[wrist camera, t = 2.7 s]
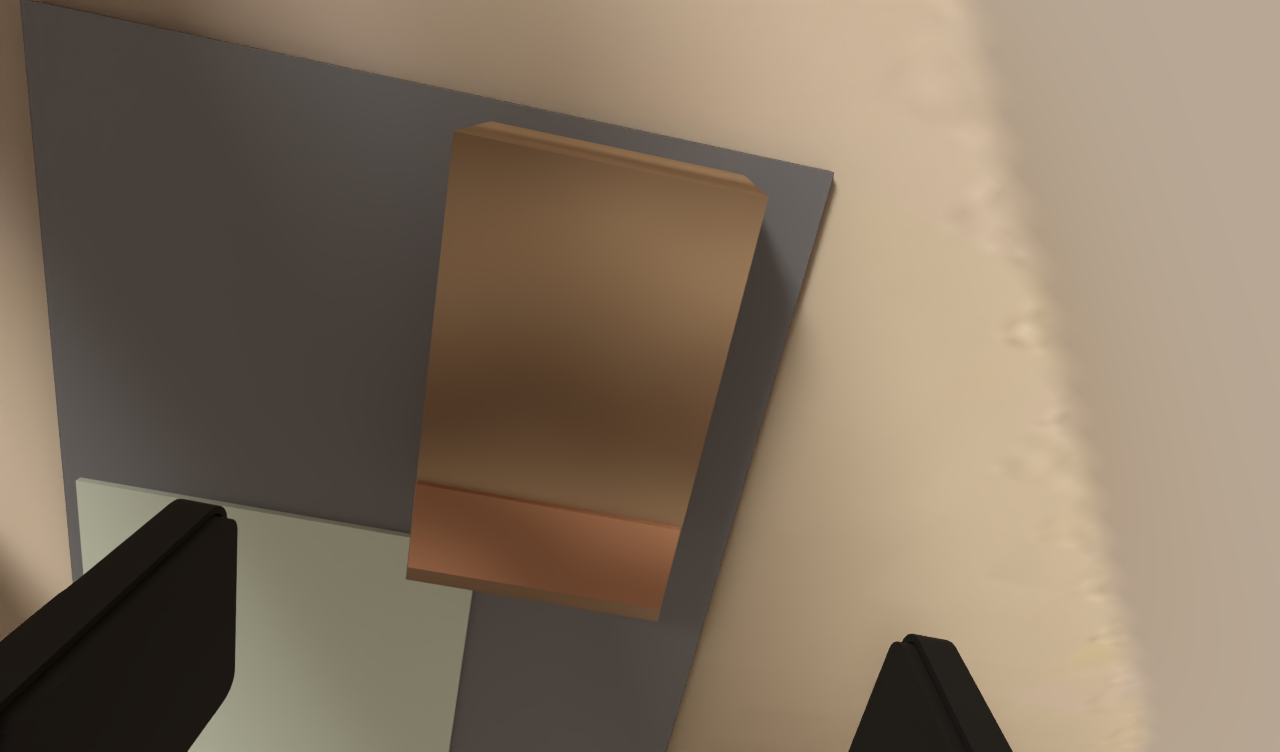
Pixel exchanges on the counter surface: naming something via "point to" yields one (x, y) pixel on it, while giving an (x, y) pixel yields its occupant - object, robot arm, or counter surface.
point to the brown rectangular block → (573, 365)
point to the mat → (336, 384)
